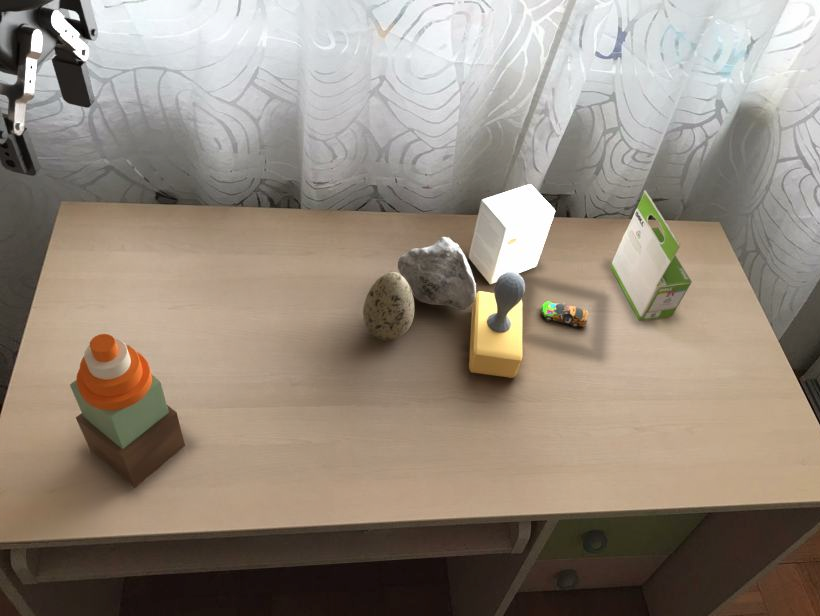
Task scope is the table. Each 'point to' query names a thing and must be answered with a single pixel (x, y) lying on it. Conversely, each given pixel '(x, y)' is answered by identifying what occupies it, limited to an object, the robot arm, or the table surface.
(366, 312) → the decorative egg
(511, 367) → the rubber stamp
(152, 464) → the walnut block
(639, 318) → the ink box
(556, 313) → the toy car
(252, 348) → the table surface
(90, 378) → the cone
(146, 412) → the sage block
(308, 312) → the table surface
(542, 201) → the small box
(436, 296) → the stone
